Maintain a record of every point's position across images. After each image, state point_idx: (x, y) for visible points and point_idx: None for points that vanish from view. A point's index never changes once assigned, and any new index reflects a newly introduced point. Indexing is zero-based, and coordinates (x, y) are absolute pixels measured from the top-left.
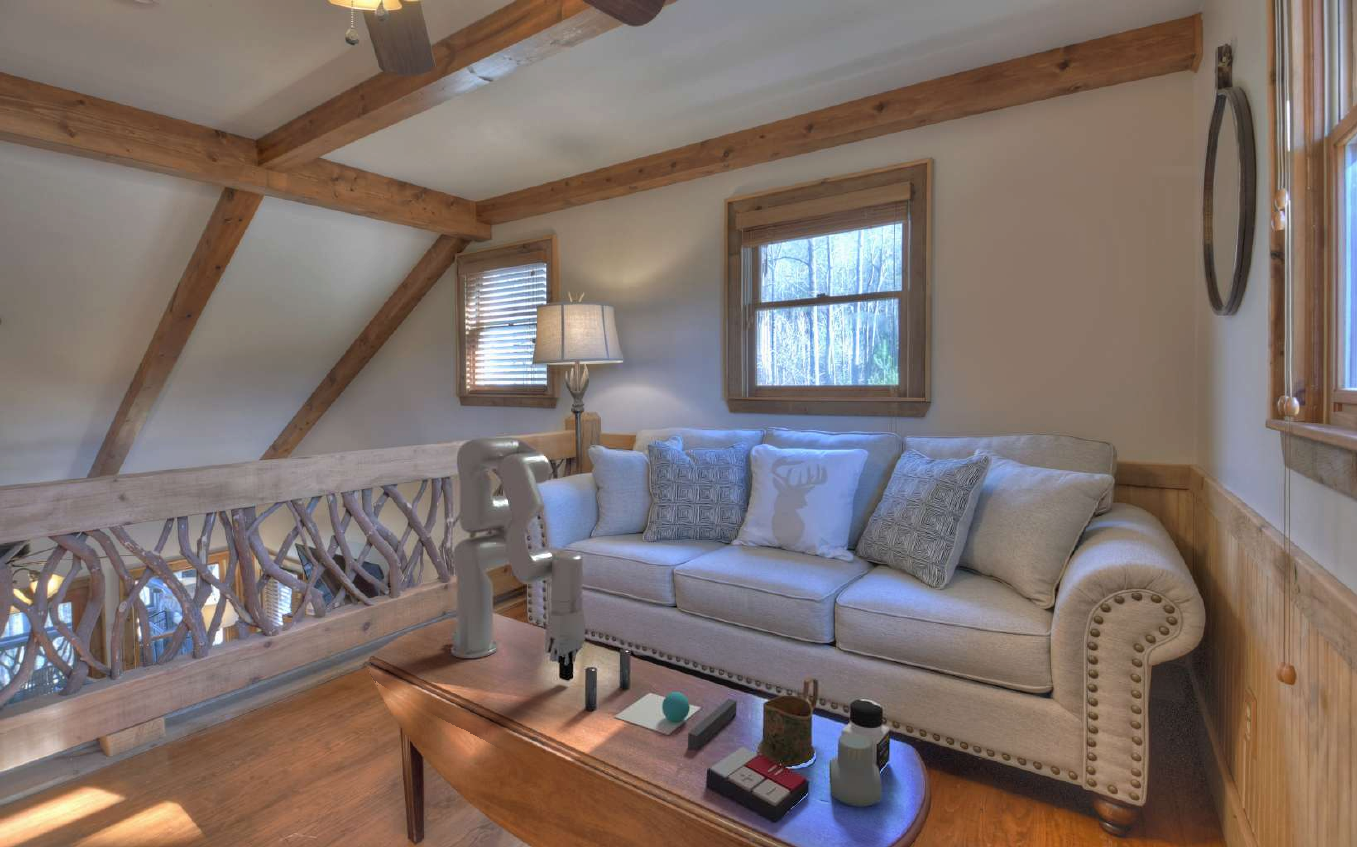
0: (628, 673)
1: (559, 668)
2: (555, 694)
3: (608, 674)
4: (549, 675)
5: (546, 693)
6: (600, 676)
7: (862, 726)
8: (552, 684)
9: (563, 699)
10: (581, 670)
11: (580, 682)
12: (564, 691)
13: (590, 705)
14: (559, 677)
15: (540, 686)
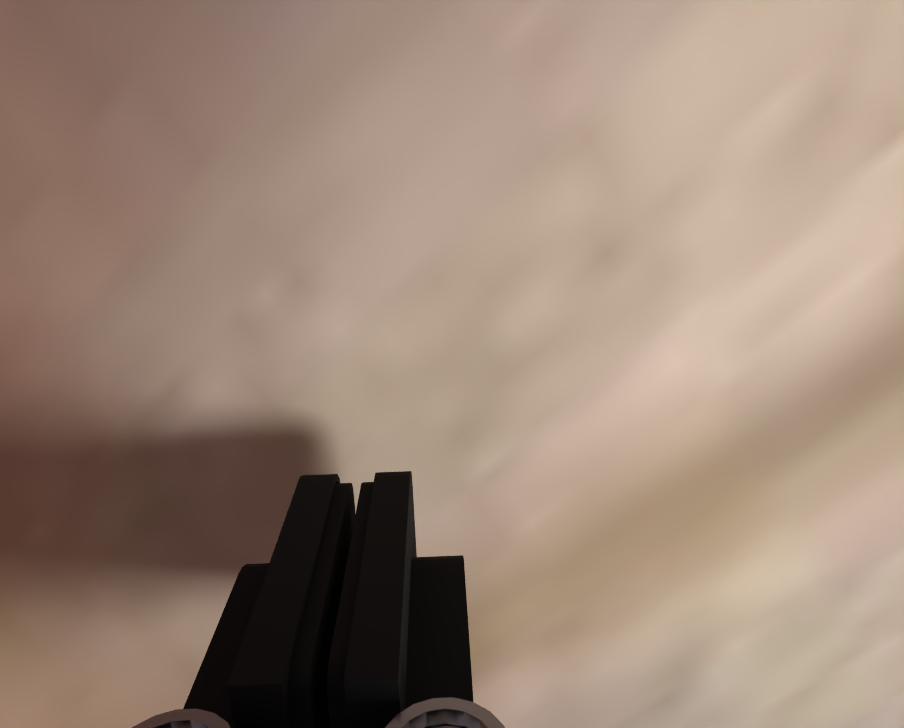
0: None
1: (267, 580)
2: (81, 579)
3: (898, 690)
4: (468, 52)
5: (7, 479)
6: (806, 659)
7: None
8: (252, 349)
9: (71, 717)
10: (883, 359)
11: (534, 591)
12: (217, 605)
13: None
14: (300, 482)
15: (76, 250)
